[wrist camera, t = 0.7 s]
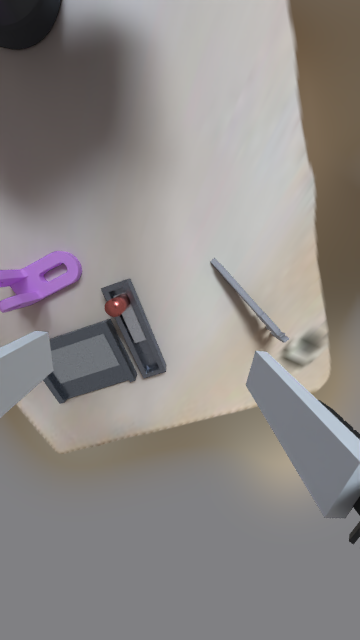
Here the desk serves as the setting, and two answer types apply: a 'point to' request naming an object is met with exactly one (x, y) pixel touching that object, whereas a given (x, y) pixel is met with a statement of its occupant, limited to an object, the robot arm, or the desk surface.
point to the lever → (125, 315)
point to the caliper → (250, 302)
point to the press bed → (88, 361)
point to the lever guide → (147, 349)
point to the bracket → (38, 280)
